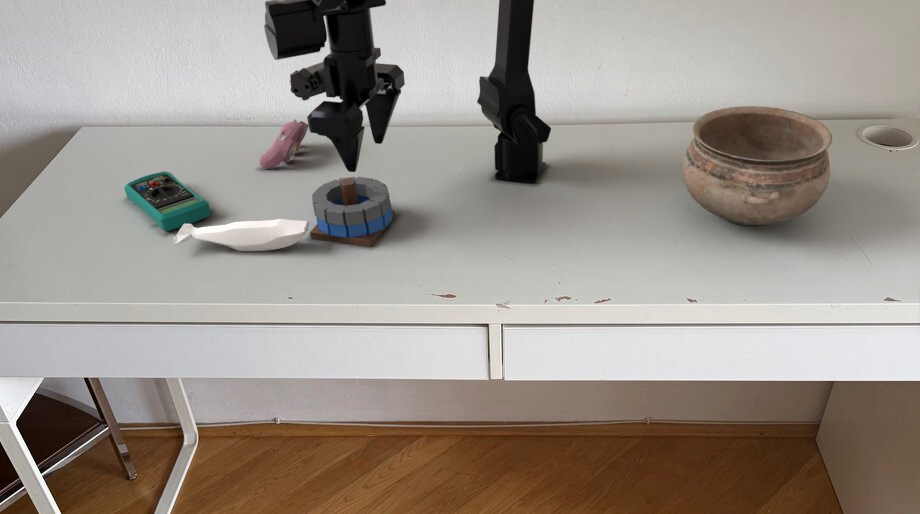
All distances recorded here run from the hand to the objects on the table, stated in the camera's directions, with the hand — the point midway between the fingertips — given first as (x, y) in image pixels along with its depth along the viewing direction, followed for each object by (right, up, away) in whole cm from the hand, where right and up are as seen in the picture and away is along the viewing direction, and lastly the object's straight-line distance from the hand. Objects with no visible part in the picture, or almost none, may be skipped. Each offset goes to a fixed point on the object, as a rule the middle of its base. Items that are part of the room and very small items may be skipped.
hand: (365, 156), depth 122 cm
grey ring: (-2, -7, -1) cm, 7 cm away
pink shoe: (-15, +4, +20) cm, 25 cm away
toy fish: (-16, -13, -2) cm, 21 cm away
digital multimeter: (-30, -6, +7) cm, 31 cm away
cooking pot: (+53, -8, 0) cm, 54 cm away
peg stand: (-2, -10, +1) cm, 10 cm away
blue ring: (-2, -9, +1) cm, 9 cm away
